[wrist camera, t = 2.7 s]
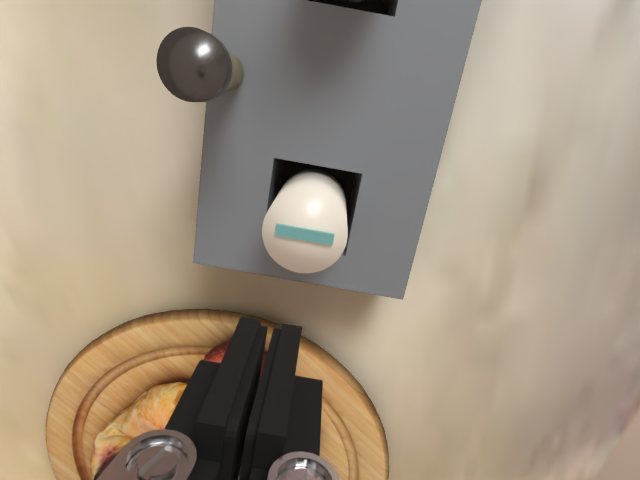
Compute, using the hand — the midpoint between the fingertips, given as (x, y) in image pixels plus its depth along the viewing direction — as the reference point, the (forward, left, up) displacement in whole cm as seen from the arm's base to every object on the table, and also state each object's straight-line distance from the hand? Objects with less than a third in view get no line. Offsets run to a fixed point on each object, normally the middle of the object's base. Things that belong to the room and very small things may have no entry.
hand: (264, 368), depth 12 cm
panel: (0, -7, -22) cm, 23 cm away
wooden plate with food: (+5, +27, -23) cm, 36 cm away
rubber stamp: (+6, -7, -16) cm, 19 cm away
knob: (0, 0, -18) cm, 18 cm away
